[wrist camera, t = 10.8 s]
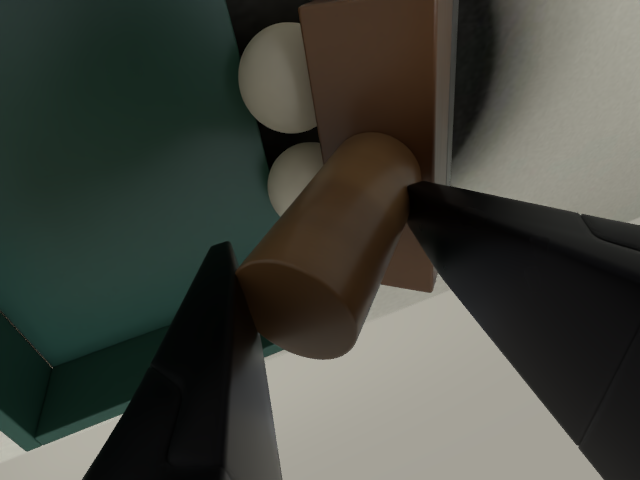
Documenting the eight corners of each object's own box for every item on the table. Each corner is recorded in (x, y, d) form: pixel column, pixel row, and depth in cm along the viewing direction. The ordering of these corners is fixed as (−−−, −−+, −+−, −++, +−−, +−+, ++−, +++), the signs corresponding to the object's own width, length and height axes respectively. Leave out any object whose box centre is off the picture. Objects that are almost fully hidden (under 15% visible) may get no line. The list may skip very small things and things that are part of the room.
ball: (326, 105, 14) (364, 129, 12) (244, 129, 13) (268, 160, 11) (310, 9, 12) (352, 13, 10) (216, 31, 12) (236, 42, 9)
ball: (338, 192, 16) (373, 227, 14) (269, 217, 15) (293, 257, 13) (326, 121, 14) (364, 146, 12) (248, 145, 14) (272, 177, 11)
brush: (448, 236, 14) (388, 454, 8) (368, 227, 15) (269, 412, 10) (460, -31, 9) (343, 63, 4) (344, -14, 11) (124, 77, 5)
